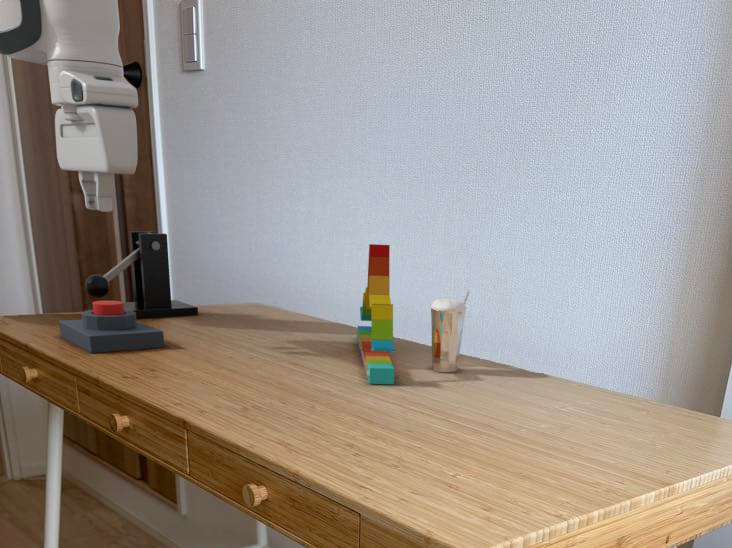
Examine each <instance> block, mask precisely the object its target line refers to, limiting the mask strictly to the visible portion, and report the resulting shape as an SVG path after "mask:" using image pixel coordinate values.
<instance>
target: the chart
mask: <svg viewBox="0 0 732 548" xmlns="http://www.w3.org/2000/svg"><path fill="white" fill-rule="evenodd" d="M390 251H391V250H390V244H375V243H374V244H373V243H369V244H368V264H367V265H368V266H367V283H366V284H367V286H366V287H365V289H364V290H365V291H364V292H362V293H363V295H362V306H359V313H360V322H361V321H362V322H371V325H370V326H369V325H357V329H356V331H355V332H356V334H355V335H356V340H357V343H358V349H359V351H360V355H361V359H362V363H363V367H364V370H365V374H366V377H367V380H368V383H369V385H394V384H395V366H394V364H393V362H392V360H391V357H390V355H389V353H390V352H391V353H392V352H394V353H395V352H396V348H395V347H394V304H392V302H391V294H390V292H391V291H390V286H391V285H390V284H391V283H390V282H391V281H390V280H391V279H390V277H391V276H390V257H391V256H390ZM388 352H389V353H388Z"/></svg>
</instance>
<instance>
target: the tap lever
mask: <svg viewBox="0 0 732 548" xmlns="http://www.w3.org/2000/svg"><path fill="white" fill-rule="evenodd" d="M136 244H137V246H138V248H137V249H136V250H135V251H133V252H132V253H131V252H130V254H128V255H127V256H126V257H125V258H123V259H122V260H121V261H120V262H119V263H117V264H116V265H115V266H114V267H112V268H111V269H110V270H108V271H107V272H106V273H105V274H103V275H101V274H97V273H96V274H92V275H89V276H88V277H87V279H86V281H85V289H86V291H87V293H88V294H89V295H90V296H91V297H94V298H95V299H96V298H98V299H100V298H105V296H107V295H108V293H109V291H110V282H111V281H113V279H114V280H115V278H116V277H118V276H119V275H120V274H121V273H122V272H123V271H124V270H125V271H126V269H127V268H128V267H130V266H132V263H133V262H134V261H136V260H137V259H138V258H139V257H140V247H139V240H138V241H137V242H136Z"/></svg>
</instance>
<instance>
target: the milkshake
mask: <svg viewBox="0 0 732 548" xmlns="http://www.w3.org/2000/svg"><path fill="white" fill-rule="evenodd" d="M470 294H471V290H467V293H466V295H465V298H464V300H463V301H461V300H456V299H455V298H446V297H445V298H437V299H434V301H433V302H432V303H431V304H430V326H431V369H432V370H433V371H434V372H439V373H455V372H457V371H458V366H459V359H460V352H461V345H462V338H463V330H464V325H465V319H466V314H467V305H466V304H467V301H468V299H469V296H470Z"/></svg>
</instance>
